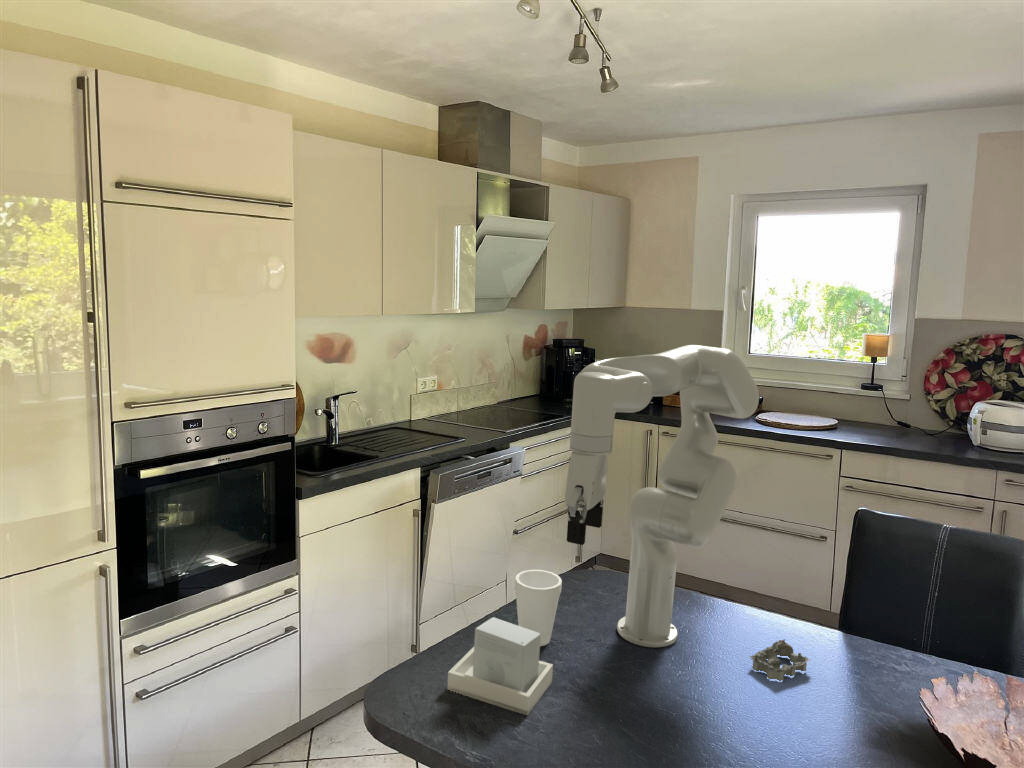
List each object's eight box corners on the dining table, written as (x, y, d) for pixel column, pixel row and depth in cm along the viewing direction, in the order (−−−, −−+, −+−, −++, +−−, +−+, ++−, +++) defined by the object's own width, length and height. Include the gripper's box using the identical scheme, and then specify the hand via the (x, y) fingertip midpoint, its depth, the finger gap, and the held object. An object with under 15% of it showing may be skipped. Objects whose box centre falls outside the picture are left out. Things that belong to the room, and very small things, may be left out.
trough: (476, 659, 142) (477, 643, 142) (551, 682, 136) (553, 664, 136) (447, 690, 132) (448, 672, 131) (527, 715, 126) (528, 696, 125)
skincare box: (538, 686, 133) (542, 632, 132) (520, 703, 128) (523, 647, 126) (490, 667, 139) (493, 614, 137) (470, 682, 133) (473, 628, 131)
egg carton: (782, 656, 151) (785, 637, 150) (813, 675, 144) (815, 655, 143) (744, 667, 146) (746, 647, 145) (774, 687, 139) (776, 666, 138)
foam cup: (553, 653, 146) (557, 592, 144) (508, 646, 148) (511, 585, 146) (560, 631, 155) (564, 572, 153) (517, 624, 157) (520, 567, 155)
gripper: (586, 430, 140) (580, 516, 143) (554, 449, 124) (547, 545, 127) (624, 435, 137) (617, 523, 140) (596, 456, 121) (589, 554, 124)
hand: (584, 534), depth 133 cm, fingers open, 9 cm apart
